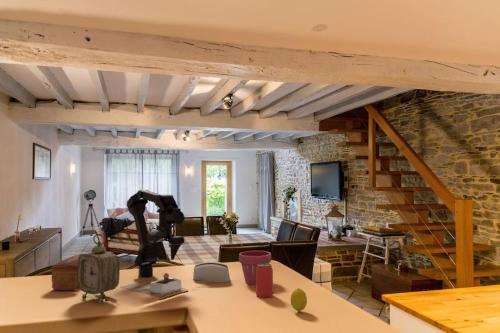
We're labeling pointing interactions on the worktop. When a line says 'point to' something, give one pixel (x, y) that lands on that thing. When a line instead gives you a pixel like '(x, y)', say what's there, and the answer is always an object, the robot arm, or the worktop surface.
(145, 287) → the board
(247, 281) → the plant pot
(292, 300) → the lemon
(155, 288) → the hollow metal box
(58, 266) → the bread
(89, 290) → the tabletop clock
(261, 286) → the beer can
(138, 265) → the robot arm
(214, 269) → the grey rounded block
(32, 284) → the worktop surface
